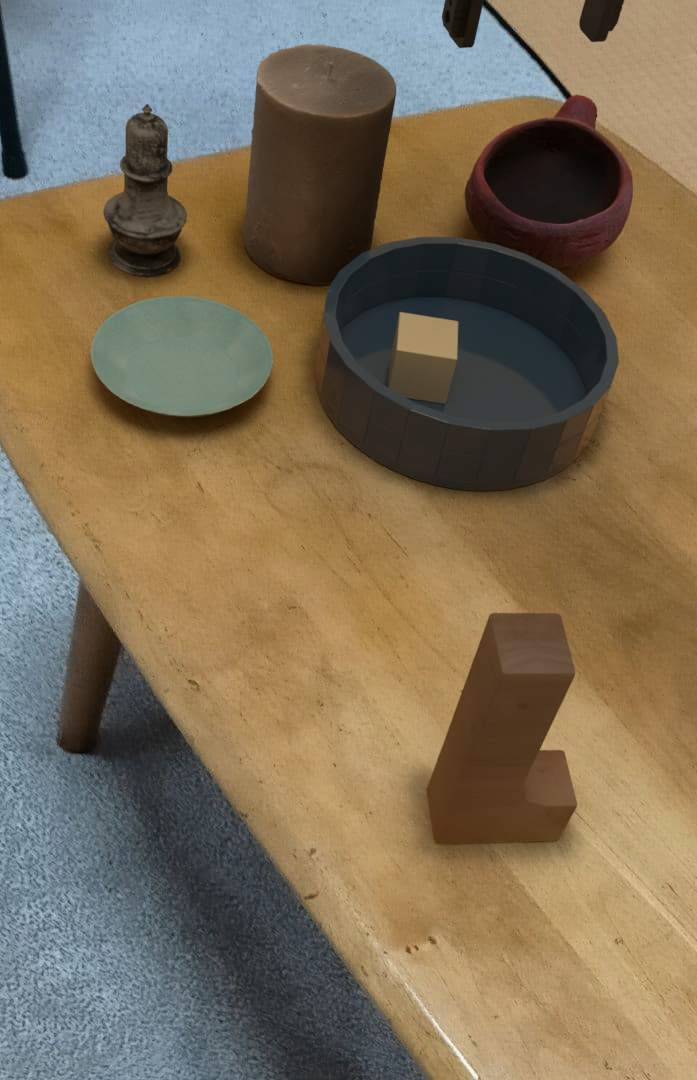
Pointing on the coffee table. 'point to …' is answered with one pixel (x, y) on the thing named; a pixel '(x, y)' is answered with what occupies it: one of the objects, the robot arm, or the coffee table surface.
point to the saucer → (181, 356)
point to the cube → (423, 357)
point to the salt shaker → (145, 203)
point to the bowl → (551, 188)
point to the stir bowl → (467, 363)
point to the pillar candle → (316, 160)
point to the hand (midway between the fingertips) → (526, 38)
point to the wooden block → (507, 738)
